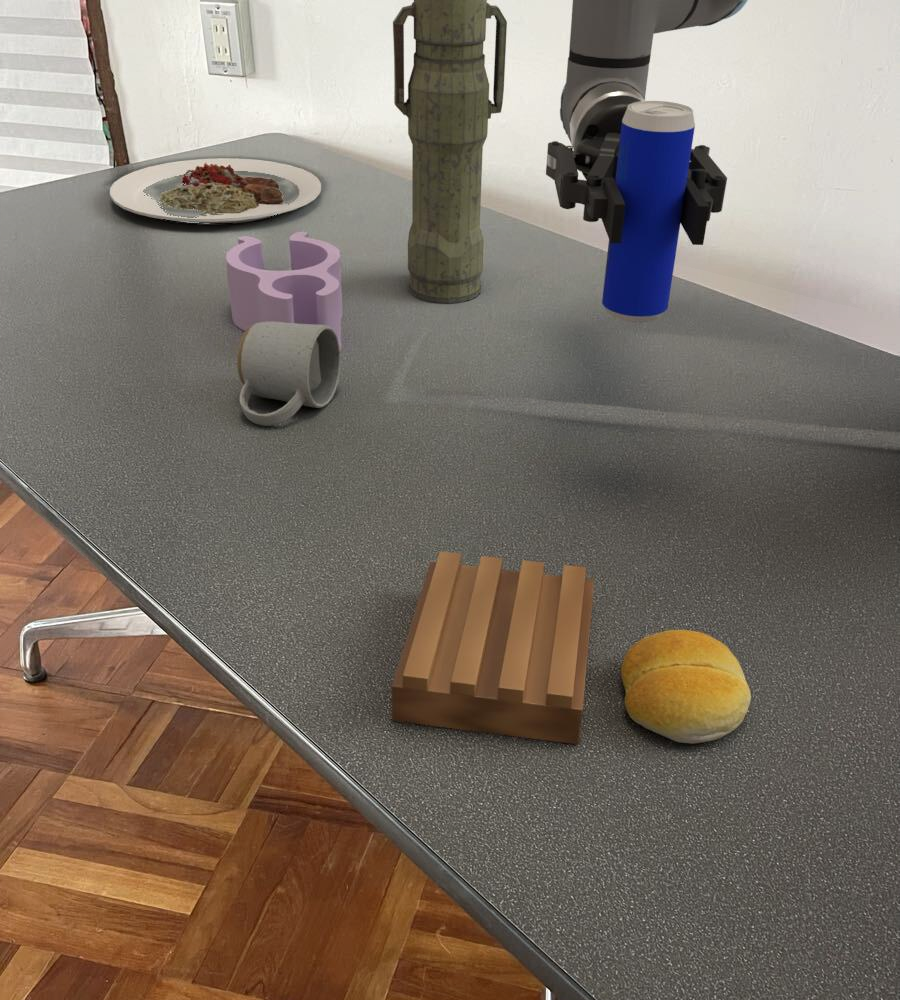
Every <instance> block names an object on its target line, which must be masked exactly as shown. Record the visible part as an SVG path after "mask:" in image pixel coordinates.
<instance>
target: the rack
mask: <svg viewBox="0 0 900 1000" xmlns="http://www.w3.org/2000/svg"><path fill="white" fill-rule="evenodd" d="M462 555H463V554H462V553H460V552H451V551H443V550H440V551H439V553H438V556H437V560H436V561H430V562H429V565H428V567H427V571H426V575H425V578H424V581H423V584H422V588H421V591H420V593H419V597H418V600H417V602H416V603H417V604H416V605H415V610H414V613H413V616H412V620H411V623H410V627H409V628H408V632H407V635H406V640H405V642H404V645H403V649H402V652H401V655H400V659H399V661H398V665H397V667H396V668H397V669H396V672H395V674H394V679H393V682H392V684H391V716H392V717H391V718H392V719H391V720H392V722H399V723H400V722H401V723H408V724H414V725H423V726H431V727H438V728H447V729H453V730H461V731H469V732H475V733H476V732H477V733H486V734H493V735H500V736H509V737H516V738H524V739H530V740H531V739H533V740H541V741H548V742H556V743H563V744H571V745H578V744H579V743H580V742H579V741H580V735H581V734H580V733H581V726H582V718H583V710H584V699H585V690H586V678H587V667H588V666H587V665H588V657H589V656H588V655H589V646H590V636H591V635H590V634H591V624H592V623H591V622H592V614H593V613H592V611H593V602H594V600H593V599H594V590H595V579H591V578H586V574H587V573H586V572H587V567H586V566H580V565H570V564H563V568H562V575H555V574H548V573H547V574H546V573H544V571H545V562H543V561H542V562H541V561H532V560H524V559H523V560H521V564H520V569H519V570H511V569H503V561H504V559H503V557H494V556H487V555H486V556H485V555H481V556H480V559H479V561H478V566H475V565H465V564H462V557H463V556H462Z"/></svg>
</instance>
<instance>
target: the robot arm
mask: <svg viewBox="0 0 900 1000" xmlns="http://www.w3.org/2000/svg"><path fill="white" fill-rule="evenodd" d="M748 1H749V0H572V5H571V23H570V33H569V34H570V35H569V49H568V57H567V65H566V77H565V83H564V86H563V88H562V91H561V95H560V107H559V117H560V121H561V122H562V123H561V124H562V128H563V130H564V132H565V135H567V138H568V140H569V143H570V144H571V145H565V144H564V143H562V142H559V141H557V140H553V141H550V142H548V143H547V154H546V166H545V175H546V176H547V177H549V178H550V179H552V180H553V181H554V185H555V190H556V195H557V200H558V205H559V207H560V208H562V209H564V210H571V209H575V208H576V205H577V204H579V205H583V216H582V220H583V221H584V222H588V223H596V222H599V220H600V219H601V222H602V225H603V227H604V229H605V232H606V235H607V237H608V241H609V240H610V243H621V239H622V231H623V222H624V214H625V205H626V204H625V202H624V200H623V198H622V196H621V193H620V191H619V189H618V187H617V184H616V182H615V181H616V172H617V163H618V153H619V144H620V135H621V126H622V119H623V117H624V115H625V112H626V110H627V107H628V105H629V104H631V103H635V102H640V101H647V100H646V93H647V85H648V77H649V69H650V62H651V55H652V47H653V40H654V35H655V34H659V33H666V32H671V31H676V30H683V29H689V28H695V27H708V26H712V25H715V24H717V23H719V22H721V21H724V20H726V19H729V18H731V17H733V16H734V15H736V14H737V13H739V12H740V11H741V10H742V9H743V8H744V6H745V5H746V4H747V2H748ZM710 151H711V147H709V146H706V145H705V144H700V145H696V146H694V148H692V149H691V155H690V162H689V169H688V176H687V182H686V189H685V196H684V202H683V209H682V216H681V223H680V226H681V227H682V229H683V230H684V233H686V236H687V237H688V239H689V241H690V243H691V245H692V246H704V241H705V235H706V230H707V223H708V222H709V221H710V220H711V214H712V213H713V214H715V213H721V212H722V211H723V205H724V201H725V195H726V187H727V183H728V177H727V175H726V174H725V173H724V172H723V171H722V169H721V168H720V167H719V166H718V165H717V164H716V162H715V161H714V160H713V159H712V158H711V156H710ZM579 172H581V174H582V176H583V177H584V178H585V179H579Z"/></svg>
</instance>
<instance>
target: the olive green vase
mask: <svg viewBox="0 0 900 1000" xmlns="http://www.w3.org/2000/svg"><path fill="white" fill-rule="evenodd" d="M408 17H413V39H414V40H415V51H414V53H413V66H412V70H411V73H410V77H409V79H408V84H407V99H406V100H405V23H406V21H407V19H408ZM492 17H494V19H495V42H494V43H495V44H494V45H495V46H494V63H493V64H494V67H493V71H494V72H493V90H492V91H493V92H492V93H493V95H492V98H493V99H492V100H493V102H492V101H491V100H490V82H489V77H488V74H487V71H486V70H487V69H486V67H485V65H486V63H485V62H486V60H485V59H486V56H485V55H486V54H484V42H486V38H487V37H486V34H487V33H486V32H487V19H491V20H492ZM507 29H508V21H507V19H506V17H505V16H504V14H503V13H502V11H501V9H500V8H499V7H498V6H497V5H494V4H493V5H491V4H490V3H489V2H488V0H413V2H412V3H411V4H410V5H407V6H403V7H401V9H400V10H399V12H398V13H397V15H396V16H395V18H394V19H393V21H392V37H393V39H392V40H393V66H394V67H393V70H394V71H393V75H394V77H393V78H394V80H393V81H394V82H393V83H394V84H393V86H394V87H393V88H394V90H393V91H394V92H393V93H394V99H393V100H394V101H393V102H394V103H393V104H394V105H395V107H396V108H397V109H398V110H399V112H401V114H403V116H406V117H407V135H408V137H409V139H410V143H411V147H412V150H411V151H412V158H411V159H412V165H411V166H412V170H411V171H412V172H411V173H412V174H411V175H412V177H411V179H412V180H411V181H412V182H411V183H412V187H411V189H412V191H411V192H412V195H411V196H412V197H411V198H412V199H411V201H412V203H411V205H412V206H411V207H412V213H411V214H412V217H411V218H412V222H411V225H410V228H409V231H408V240H407V270H408V272H409V285H408V290H410V291H409V293H410V294H411V293H412V294H413V295H415V296H416V297H418V298H421V299H423V300H422V301H424V300H426V301H425V302H428V301H430V302H429V303H433V302H437V303H436V304H446V303H449V304H459V303H458V302H460V303H464V301H465V302H468V301H467V300H469V301H471V300H473V299H472V298H474V297H476V296H477V295H478V294H479V293H480V294H481V291H482V289H481V287H482V284H481V276H482V274H483V270H484V246H485V245H484V237H483V233H482V229H481V202H482V180H483V179H482V175H483V151H484V150H483V149H484V148H483V147H484V145H485V142H486V140H487V138H488V133H489V132H488V130H489V129H488V128H489V120H490V119H491V118H492V114H500V113H502V110H503V109H502V108H503V101H504V94H505V93H504V91H505V74H506V73H505V72H506V54H507V53H506V52H507V50H506V49H507V31H508V30H507ZM412 294H411V295H412ZM480 294H479V295H480ZM413 295H412V296H413ZM479 295H478V296H479ZM415 296H414V297H415ZM478 296H477V297H478ZM416 297H415V298H416ZM477 297H476V298H477ZM418 298H417V299H418ZM421 299H420V300H421ZM470 299H471V300H470ZM474 299H475V298H474Z"/></svg>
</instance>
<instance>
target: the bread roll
mask: <svg viewBox="0 0 900 1000" xmlns="http://www.w3.org/2000/svg"><path fill="white" fill-rule="evenodd" d="M620 673H621V680H622V683H623V687H624V690H625V696H624V705H625V709H626V711H627V714H628V715H629V717H630V718H631V720H633V721H634V723H636V724H638V725H640V726H642V727H643V728H644V729H647V730H649V731H651V732H653V733H656V734H658V735H660V736H662V737H665V738H667V739H670V740H672V741H674V742H677V743H683V744H684V743H685V744H693V745H694V744H701V743H707V742H712V741H716V740H719V739H721V738H723V737H724V736H726V735H728V734H731V732H733V731H734V730H736V729H737V728H738V727H740V725H741V724H742V723H743V721H744V720H745V717H746V715H747V713H748V711H749V707H750V704H751V700H752V695H751V694H752V693H751V690H750V687H749V685H748V683H747V679H746V677H745V674H744V671H743V669H742V667H741V665H740V662H739V660H738V659H737V657H736V656H735V655H734V654H733V652H732V651H731V650H730V648H728V646H727V645H726V644H724V643H723V642H721V641H720V640H718V639H716V638H714V637H713V636H710V635H708V634H706V633H704V632H701V631H696V630H688V629H670V630H665V631H660V632H656V633H652V634H650V635H647V636H645V637H642V638H641V639H639V640H638V641H636V642H635V643H634V644H633V645H631V646H630V648H629V649H628V650H627V652H626V654H625V656H624V658H623V660H622V664H621V667H620Z"/></svg>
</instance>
